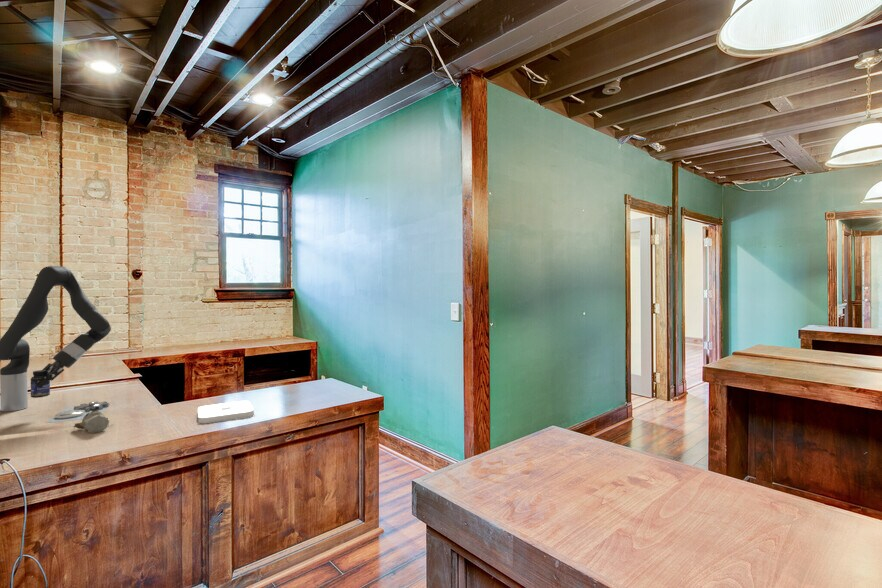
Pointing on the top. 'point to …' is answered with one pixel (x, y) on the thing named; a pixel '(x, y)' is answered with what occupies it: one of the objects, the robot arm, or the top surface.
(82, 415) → the gear board
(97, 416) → the ceramic sculpture
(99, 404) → the gear
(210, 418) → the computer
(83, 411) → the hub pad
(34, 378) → the pill bottle
